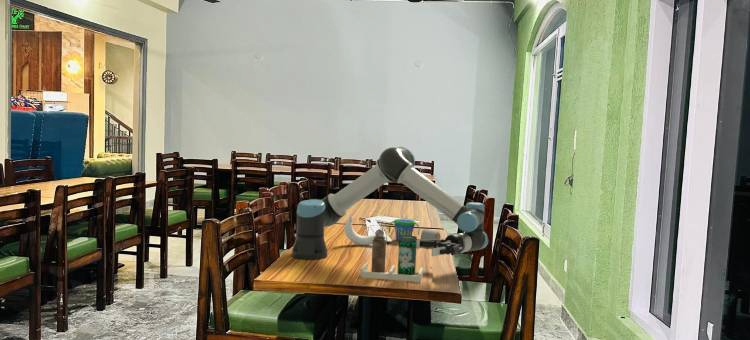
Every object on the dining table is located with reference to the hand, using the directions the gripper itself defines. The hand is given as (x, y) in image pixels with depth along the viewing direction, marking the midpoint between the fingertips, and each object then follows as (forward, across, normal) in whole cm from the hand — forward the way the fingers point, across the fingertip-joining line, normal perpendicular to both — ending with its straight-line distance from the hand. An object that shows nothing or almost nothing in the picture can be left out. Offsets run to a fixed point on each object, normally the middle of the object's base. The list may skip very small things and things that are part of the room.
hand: (419, 249), depth 205 cm
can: (+6, 0, -10) cm, 12 cm away
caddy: (+9, +4, -11) cm, 15 cm away
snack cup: (-45, +57, -11) cm, 73 cm away
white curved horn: (-20, +57, -11) cm, 61 cm away
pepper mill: (+13, +8, -10) cm, 18 cm away
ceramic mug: (-50, +42, -11) cm, 66 cm away
